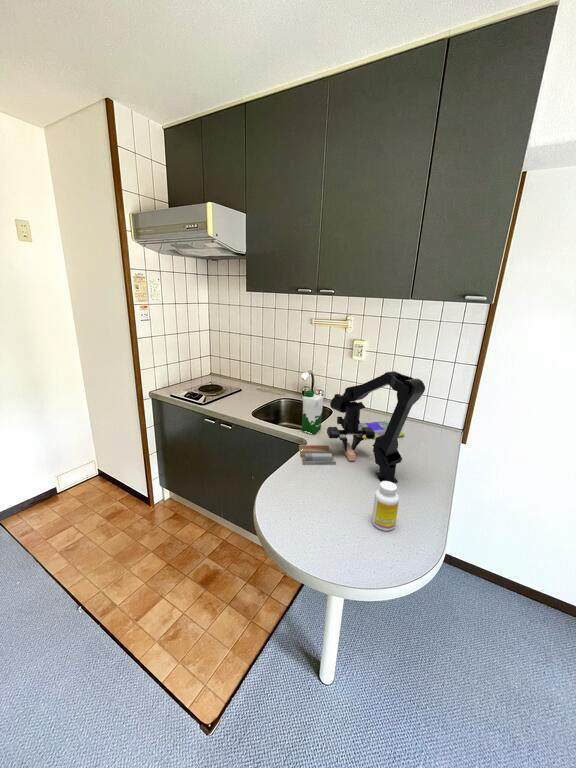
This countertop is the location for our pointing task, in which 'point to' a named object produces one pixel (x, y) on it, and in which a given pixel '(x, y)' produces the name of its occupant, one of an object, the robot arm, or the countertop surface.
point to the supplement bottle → (385, 506)
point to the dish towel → (377, 428)
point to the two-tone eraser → (350, 453)
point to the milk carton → (312, 412)
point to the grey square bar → (318, 457)
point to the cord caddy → (315, 450)
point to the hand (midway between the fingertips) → (348, 451)
